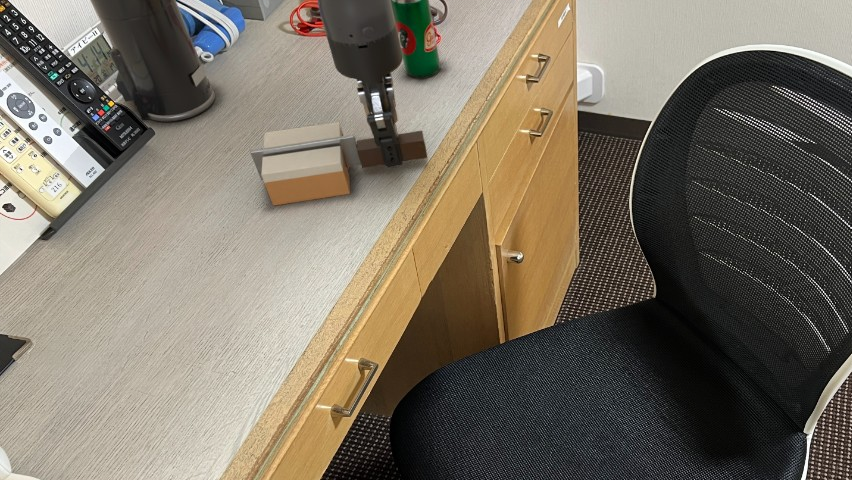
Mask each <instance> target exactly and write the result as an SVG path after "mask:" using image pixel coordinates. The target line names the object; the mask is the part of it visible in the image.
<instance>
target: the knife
mask: <svg viewBox="0 0 852 480" xmlns="http://www.w3.org/2000/svg"><path fill="white" fill-rule="evenodd" d="M398 135H399V137H398V139H399V140H398V142H399V146H400V151H401V155H402V159H403V163H404V162H411V161H412V162H413V161H418V160H423V159H428V157H429V156H428V152H427V151H428V150H427V147H426V141H425V137H424V132H423V130H417V131H410V132H404V133H398ZM335 146H340V147H341V150H342V154H343V157H344V160H345V164H346V167H349V168H350V167H353V166H361V169H367V168H374V167H381V166H385V164H384V160H383V156H382V152H381V149H380V146H379V147H377V145H376V144H375V141H374V137H372V138H370V137H369V138H364V139H357V140H356V138H355V135H354V134H349V135H343V136H341V137H335V138H328V139H321V140H315V141H308V142H302V143H295V144H289V145H282V146H276V147H269V148H263V147H262V148H257V149H251V150H250V151H249V152H250V155H251V158H252V160H253V164H254V166H255V168H256V171H257V173H258V175H259V178H260V181H264V180H263V178H262V175H261V172H262V160H263V157H267V156H274V155H281V154H288V153H295V152H301V151H308V150H315V149H322V148H329V147H335Z"/></svg>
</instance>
